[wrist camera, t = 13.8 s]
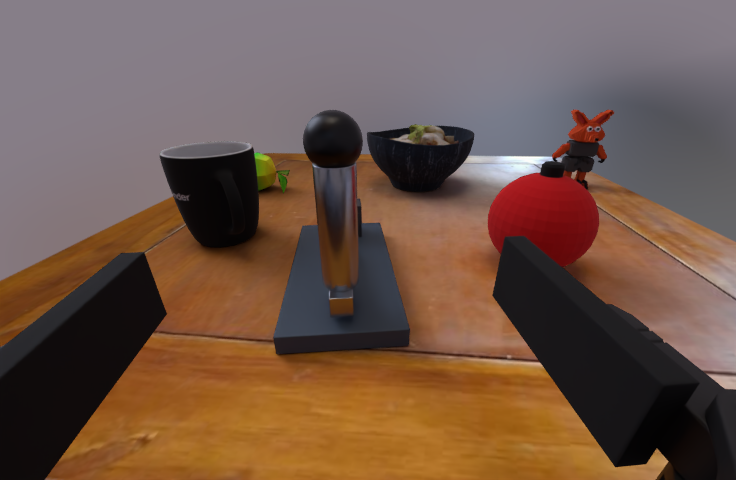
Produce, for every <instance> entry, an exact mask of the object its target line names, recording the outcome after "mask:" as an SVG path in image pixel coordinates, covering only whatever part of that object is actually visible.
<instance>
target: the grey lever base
mask: <svg viewBox="0 0 736 480" xmlns="http://www.w3.org/2000/svg"><path fill="white" fill-rule="evenodd" d="M357 212H358V252H359V283H358V285H357V286H356V287H354V288H353V305H354V316H352V317H335V318H331V317H330V307H329V289H327V288H326V287H325V286H324V285H323V282H322V270H321V259H320V247H319V236H318V225H309V226H302V230H301V234H300V238H299V242H298V245H297V249H296V253H295V257H294V261H293V264H292V268H291V272H290V276H289V280H288V284H287V287H286V291H285V295H284V299H283V303H282V307H281V310H280V314H279V318H278V322H277V326H276V330H275V333H274V337H273V339H274V344H275V349H276V354H288V353H303V352H318V351H334V350H349V349H364V348H380V347H395V346H408V345H409V336H410V328H409V324H408V321H407V317H406V314H405V310H404V307H403V303H402V299H401V296H400V292H399V289H398V285H397V282H396V278H395V275H394V271H393V267H392V264H391V260H390V257H389V253H388V250H387V246H386V243H385V239H384V235H383V232H382V228H381V225H380V223H362V216H361V202H360V199H357Z"/></svg>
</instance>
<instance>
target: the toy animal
mask: <svg viewBox="0 0 736 480" xmlns="http://www.w3.org/2000/svg"><path fill="white" fill-rule="evenodd" d="M571 112H572V114H573V119H574V121H575V122H576V123H577V126H575V128H573V129H572V130H571V131H570V133H569V134H568V135H569V137H570V138H571V139H573V140H569V141H568V142H567V144H563V145H562V146H561V147H560V148H559V149H558V150H557V151H556V152H555V153H553V155H552V156H553V157H552V158H553V161H555V162H557V160H555V159H556V158H557V157H560V156H561V155H563V154H564V153H566V154H567V155H569V156H565V157H563V159H562V162H561V163H563V164H564V165H565V170H564V174H563V175H564V176H567V177H570V178H571V174H572V172H575V171H577V170H578V171H577V174H576V177H575V179H574V180H575V181H577V182H578V183H580V184H581V185H582V186H583V187H584V188H585V189H588V184H587V181H585V180H584V178H585V175H586V172H589V171H591V170H592V167H593V164H594V160H593V158H591V157H593V156H595V155H596V154H597V156H598V157H599V158H600V159H601V161H598V162H600V163H602V162H604V160H605V159H606V158H607V155H606V153H605V150H604V149H603V146H602V145H599V144H598V142H597V141H600V140H602V139H603V138H604V136H605V133H604V131H603V130H602V128H601V124H603V123H604V122H606V121H607V120H608V119H609V118H610V116H612V114H614V112H613V111H612V110H606V111H605V112H601V113H600V114H599V115H597V116H596V117H594V118H593V119H592V120H588V118H587V117H586V116H585V114H584V113H581V112H579V110H573V111H571Z"/></svg>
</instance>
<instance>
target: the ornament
mask: <svg viewBox="0 0 736 480" xmlns="http://www.w3.org/2000/svg"><path fill="white" fill-rule="evenodd" d="M564 170H565V165H564V164H563V163H560V162H554V161H548V162H545V163H544V164H542V168H541V172H540V173H533V174H529V175H526V176H523V177H520V178H518V179H516V180H514V181H512V182H511V183H509V184H508V185H507V186H506V187H504V188H503V189H502V190H501V191H500V193H499V194H498V195H497V196H496V198H495V200H494V201H493V203H492V205H491V207H490V211H489V214H488V230H489V235H490V238H491V240H492V242H493V244H494V246H495V247H496V249H497V250H498V251H499V253H500V254H501V252H502V247H503V242H504V238H505V236H525V237H526V238H528V239H529V240H530V241H531V242H532V243H533V244H535V245H536V246H537V247H538V248H539V249H541V250H542V251H543V252H544V253H545V254H547V255H548V256H549V257H550V258H551V259H553V260H554V261H555V262H556V263H557V264H559V265H560V266H561V267H564V266H566V265H568V264H571V263H573V262H574V261H576V260H577V259H578V258H580V257H581V256H582V255H583V254H585V253H586V251H587V250H588V249H589V248H590V247H591V245H592V243H593V241H594V239H595V237H596V235H597V232H598V227H599V213H598V209H597V206H596V203H595V201H594V199H593V197H592V196H591V194H590V193H589V192H588V191H587V190H586V189H585V188H584V187H583V186H582V185H581V184H580V183H578V182H577V181H575V180H573V179H572V178H570V177H567V176H564V175H563V174H564Z"/></svg>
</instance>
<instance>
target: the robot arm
mask: <svg viewBox="0 0 736 480" xmlns="http://www.w3.org/2000/svg"><path fill="white" fill-rule="evenodd" d="M493 297H494V298H495V300H496V301H497V303H498V304H499V305H500V307H501V308H502V310H503V311H504V312H505V314H506V315H507V317H508V318H509V319H510V321H511V322H512V324H513V325H514V326H515V328H516V329H517V330H518V332H519V333H520V335H521V336H522V337H523V339H524V340H525V342H526V343H527V344H528V346H529V347H530V349H531V350H532V351H533V353H534V354H535V356H536V357H537V358H538V360H539V361H540V363H541V364H542V365H543V367H544V368H545V370H546V371H547V372H548V374H549V375H550V377H551V378H552V379H553V381H554V382H555V384H556V385H557V386H558V388H559V389H560V391H561V392H562V393H563V395H564V396H565V398H566V399H567V400H568V402H569V403H570V405H571V406H572V407H573V409H574V410H575V412H576V413H577V414H578V416H579V417H580V419H581V420H582V421H583V423H584V424H585V425H586V427H587V428H588V430H589V431H590V432H591V434H592V435H593V437H594V438H595V439H596V441H597V442H598V444H599V445H600V446H601V448H602V449H603V451H604V452H605V453H606V455H607V456H608V458H609V459H610V460H611V462H612V463H613V465H614V466H615V467H621V466H631V465H642V464H646V463H647V462H648V460H649V459H650V457H651V456H652V454H653V453H654V451H655V450H656V448H657V449H658V450H659V451H660V452H661V453H662V454H663V455H664V457H665V458H666V459H667V460H668V461H669V462H668V463H667V465H666V466H665V468H664V469H663V470H662V472H661V473H660V475H659V476H658V477H657V479H656V480H736V390H733V389H724V388H723V387H722V386H720V385H719V384H718V383H717V382H715V381H714V380H713V379H712V378H710V377H709V376H708V375H707V374H705V373H704V372H703V371H702V370H700V369H699V368H698V367H697V366H695V365H694V364H693V363H692V362H690V361H689V360H688V359H687V358H685V357H684V356H683V355H682V354H680V353H679V352H678V351H677V350H675V349H674V348H673V347H672V346H670V345H669V344H668V343H664V342H663V339H662V338H660V337H659V336H658V335H656V334H655V333H654V332H653V331H649V328H648V327H646V326H645V325H644V324H643V323H641V322H640V321H639V320H638V319H636V318H635V317H634V316H633V315H631V314H629V313H627V312H625V311H623V310H622V309H620V308H618V307H616V306H614V305H612V304H605V303H604V302H603V301H602V300H601V299H599V298H598V297H597V296H596V295H595V294H593V293H592V292H591V291H590V290H589V289H587V288H586V287H585V286H584V285H583V284H581V283H580V282H579V281H578V280H577V279H575V278H574V277H573V276H572V275H571V274H569V273H568V272H567V271H566V270H565V269H563V268H562V267H561V266H560V265H559V264H557V263H556V262H555V261H554V260H553V259H551V258H550V257H549V256H548V255H547V254H545V253H544V252H543V251H542V250H541V249H539V248H538V247H537V246H536V245H535V244H533V243H532V242H531V241H530V240H529V239H528V238H526V237H525V236H505V238H504V242H503V247H502V252H501V257H500V262H499V267H498V272H497V276H496V281H495V286H494V291H493ZM166 315H167V313H166V310H165V308H164V305H163V302H162V300H161V297H160V294H159V291H158V289H157V286H156V283H155V281H154V278H153V275H152V272H151V270H150V267H149V264H148V262H147V259H146V256H145V253H144V252H138V253H121V254H120V255H118V256H117V257H116V258H114V259H113V260H112V261H111V262H109V263H108V264H107V265H106V266H104V267H103V268H102V269H101V270H99V271H98V272H97V273H95V274H94V275H93V276H92V277H90V278H89V279H88V280H87V281H85V282H84V283H83V284H82V285H80V286H79V287H78V288H76V289H75V290H74V291H73V292H71V293H70V294H69V295H68V296H66V297H65V298H64V299H63V300H61V301H60V302H59V303H57V304H56V305H55V306H54V307H52V308H51V309H50V310H49V311H47V312H46V313H45V314H44V315H42V316H41V317H40V318H38V319H37V320H36V321H35V322H33V323H32V324H31V325H30V326H28V327H27V328H26V329H25V330H23V331H22V332H21V333H20V334H18V335H17V336H16V337H14V338H13V339H12V340H11V341H9V342H8V343H7V344H5V345H4V346H2V347H0V480H45V478H46V477H47V476H48V474H49V473H50V472H51V470H52V469H53V467H54V466H55V465H56V463H57V462H58V461H59V459H60V458H61V457H62V455H63V454H64V453H65V451H66V450H67V449H68V447H69V446H70V444H71V443H72V442H73V440H74V439H75V438H76V436H77V435H78V434H79V432H80V431H81V430H82V428H83V427H84V426H85V424H86V423H87V421H88V420H89V419H90V417H91V416H92V415H93V413H94V412H95V411H96V409H97V408H98V407H99V405H100V404H101V403H102V401H103V400H104V398H105V397H106V396H107V394H108V393H109V392H110V390H111V389H112V388H113V386H114V385H115V384H116V382H117V381H118V380H119V378H120V377H121V375H122V374H123V373H124V371H125V370H126V369H127V367H128V366H129V365H130V363H131V362H132V361H133V359H134V358H135V357H136V355H137V354H138V352H139V351H140V350H141V348H142V347H143V346H144V344H145V343H146V342H147V340H148V339H149V338H150V336H151V335H152V334H153V332H154V331H155V329H156V328H157V327H158V325H159V324H160V323H161V321H162V320H163V319H164V317H165V316H166Z"/></svg>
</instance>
